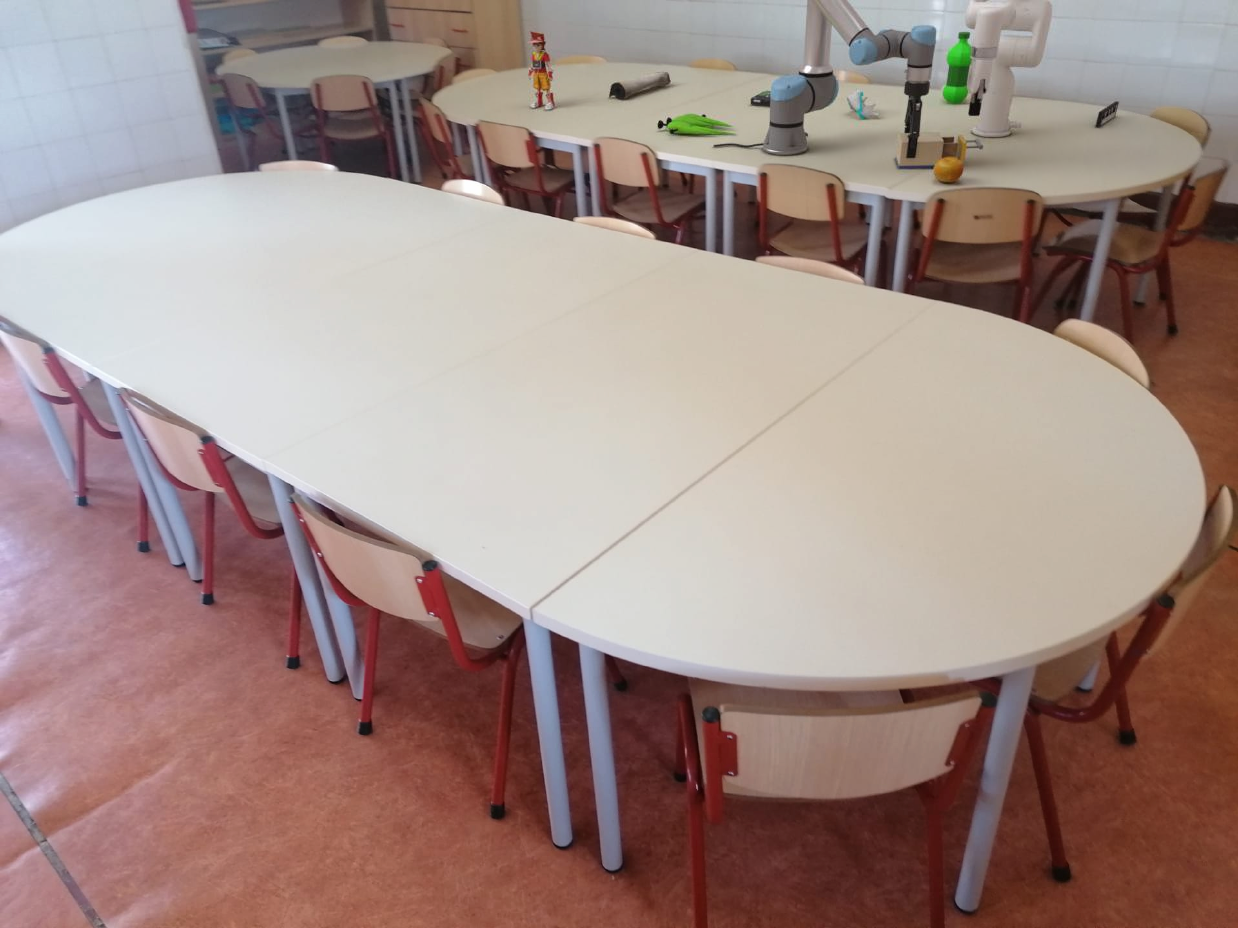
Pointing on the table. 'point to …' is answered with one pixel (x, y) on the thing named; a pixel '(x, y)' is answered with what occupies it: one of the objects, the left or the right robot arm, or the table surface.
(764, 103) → the disk drive
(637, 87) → the rolled mat
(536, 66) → the toy
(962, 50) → the plastic bottle
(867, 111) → the anatomical model
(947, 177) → the fruit
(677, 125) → the toy
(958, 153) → the drawer
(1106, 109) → the midi keyboard
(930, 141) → the cabinet
